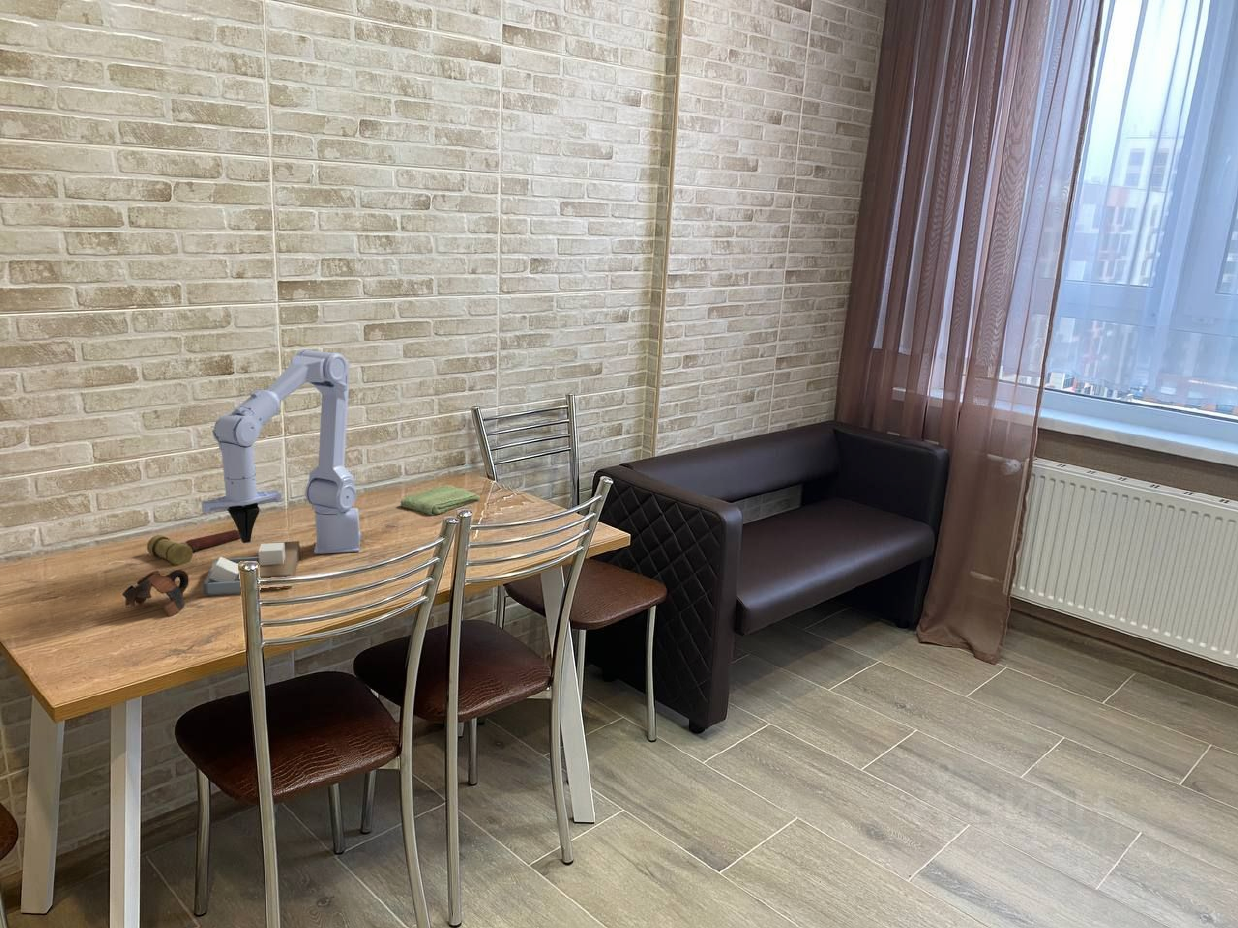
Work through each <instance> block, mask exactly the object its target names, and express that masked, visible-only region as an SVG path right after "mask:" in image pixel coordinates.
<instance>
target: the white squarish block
mask: <svg viewBox="0 0 1238 928" xmlns="http://www.w3.org/2000/svg"><path fill="white" fill-rule="evenodd" d="M218 559H219V560H218V562H217V563H216V565H215V567H214V569H213V571H212V573H211V575H210V577H209V578H210V579H213V580H215V581H218V582H229V581H235V579H236V577H237V575H238V573H239V571H238V564H237V563H234V562H232V561H229V560H227V559H228V558H225V557H221V556H220V557H219V558H218Z"/></svg>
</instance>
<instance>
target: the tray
mask: <svg viewBox="0 0 1238 928" xmlns="http://www.w3.org/2000/svg"><path fill="white" fill-rule="evenodd" d="M226 559H227V560H229V561H232V562H234V563H237V564H238V563H239V562H240V561H257V562H259V556H251V557H250V556H249V557H234V558H233V557H232V558H231V557H230V558H226ZM218 560H219V558H216V559H214V561H213V562H212V565H211V567H210V569H209V572H208V574H207V576H206V579H205V580H204V582H203V591H204V593H203V595H204V597H210V596H227V595H240V594H241V587H240V579H239V573H238V575H237V577H236V579H235V581H229V582H218V581H215V580H213V579H210V578H209V577H210V575H211V573H212V571H213V569H214V567H215V565H216V563H217V562H218Z"/></svg>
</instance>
